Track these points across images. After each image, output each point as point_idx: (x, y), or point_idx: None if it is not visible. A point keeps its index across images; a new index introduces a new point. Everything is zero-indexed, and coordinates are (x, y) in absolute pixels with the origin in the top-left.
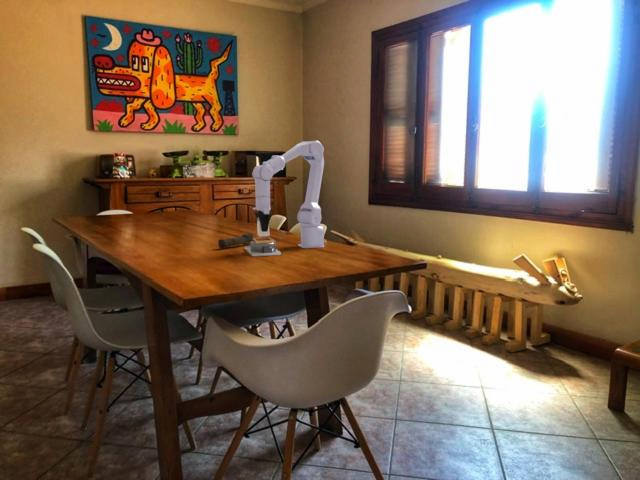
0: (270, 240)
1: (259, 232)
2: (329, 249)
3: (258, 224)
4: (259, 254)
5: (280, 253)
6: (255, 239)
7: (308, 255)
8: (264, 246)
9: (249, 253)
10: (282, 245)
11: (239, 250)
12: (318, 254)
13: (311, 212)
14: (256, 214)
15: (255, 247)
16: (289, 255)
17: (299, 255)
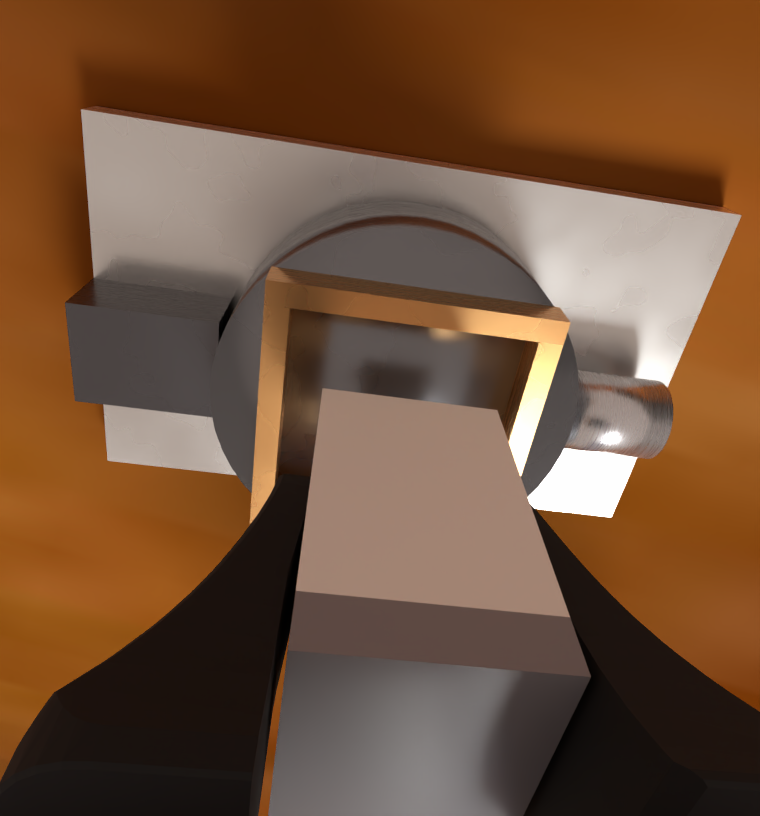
0: (254, 482)
1: (317, 426)
2: (262, 796)
3: (405, 533)
4: (95, 213)
5: (111, 449)
6: (529, 354)
7: (27, 622)
8: (202, 351)
9: (330, 144)
10: (656, 620)
11: (671, 99)
12: (59, 688)
13: None
14: (648, 762)
15: (289, 245)
16: (67, 501)
17: (45, 568)
